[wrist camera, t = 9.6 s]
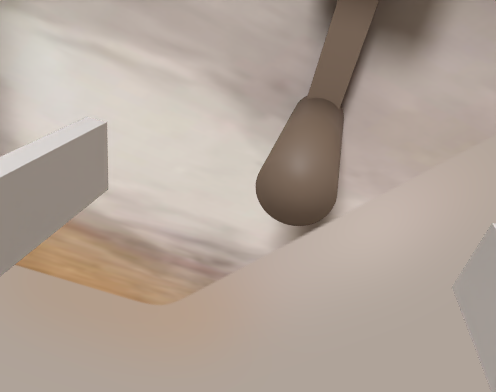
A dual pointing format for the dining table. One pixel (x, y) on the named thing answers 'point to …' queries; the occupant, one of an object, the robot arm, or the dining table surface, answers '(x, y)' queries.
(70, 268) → the dining table surface
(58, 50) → the dining table surface
